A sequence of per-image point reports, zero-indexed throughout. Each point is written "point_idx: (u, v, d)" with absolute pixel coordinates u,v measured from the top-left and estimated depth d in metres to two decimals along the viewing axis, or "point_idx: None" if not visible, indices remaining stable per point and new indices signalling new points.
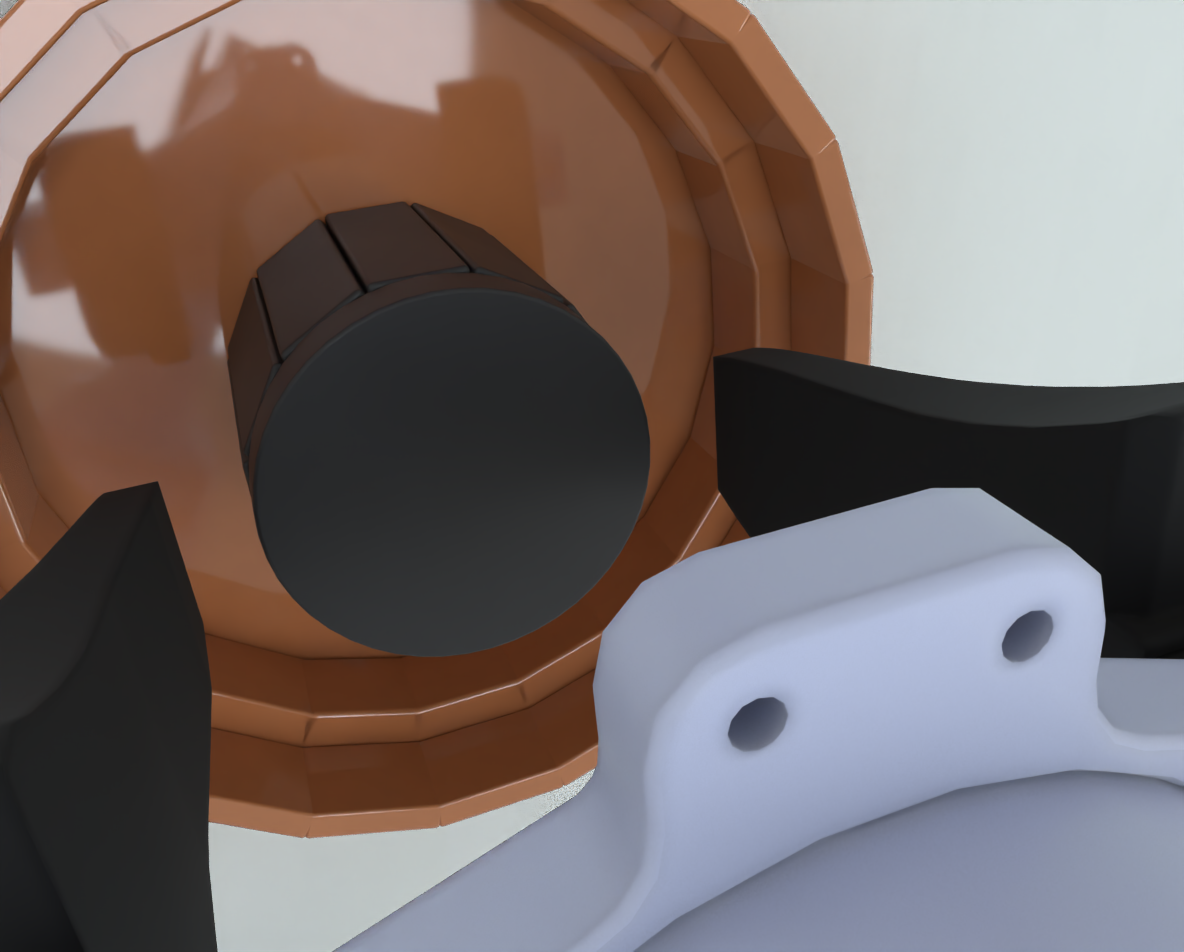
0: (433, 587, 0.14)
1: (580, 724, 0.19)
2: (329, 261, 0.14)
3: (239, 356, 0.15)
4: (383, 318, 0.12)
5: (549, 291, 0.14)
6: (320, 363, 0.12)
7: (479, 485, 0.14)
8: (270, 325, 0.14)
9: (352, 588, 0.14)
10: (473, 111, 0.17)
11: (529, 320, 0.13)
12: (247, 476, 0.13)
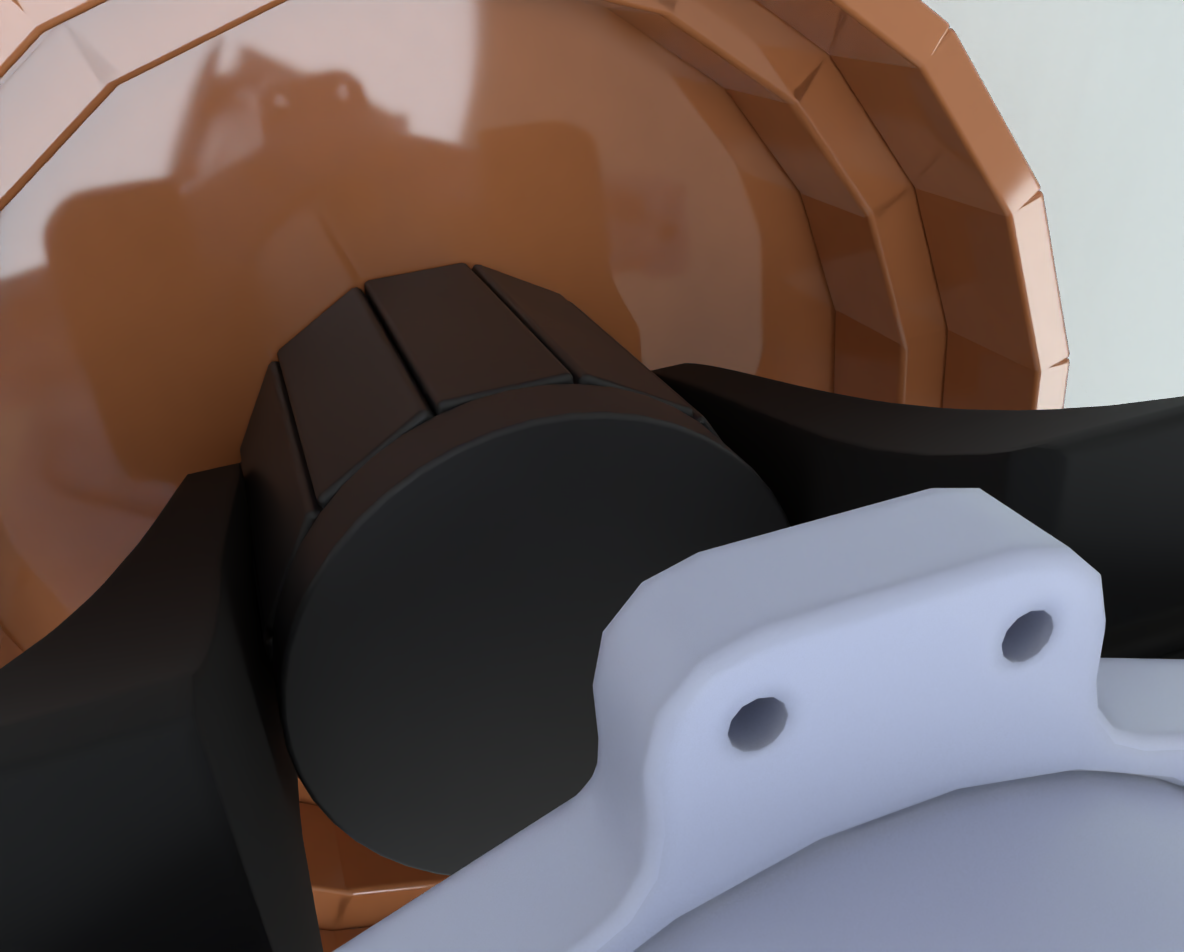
0: (517, 794, 0.11)
1: None
2: (377, 356, 0.11)
3: (256, 471, 0.12)
4: (464, 459, 0.09)
5: (675, 402, 0.10)
6: (375, 523, 0.09)
7: (582, 665, 0.10)
8: (299, 441, 0.11)
9: (411, 804, 0.10)
10: (556, 148, 0.13)
11: (659, 452, 0.09)
12: (270, 657, 0.10)
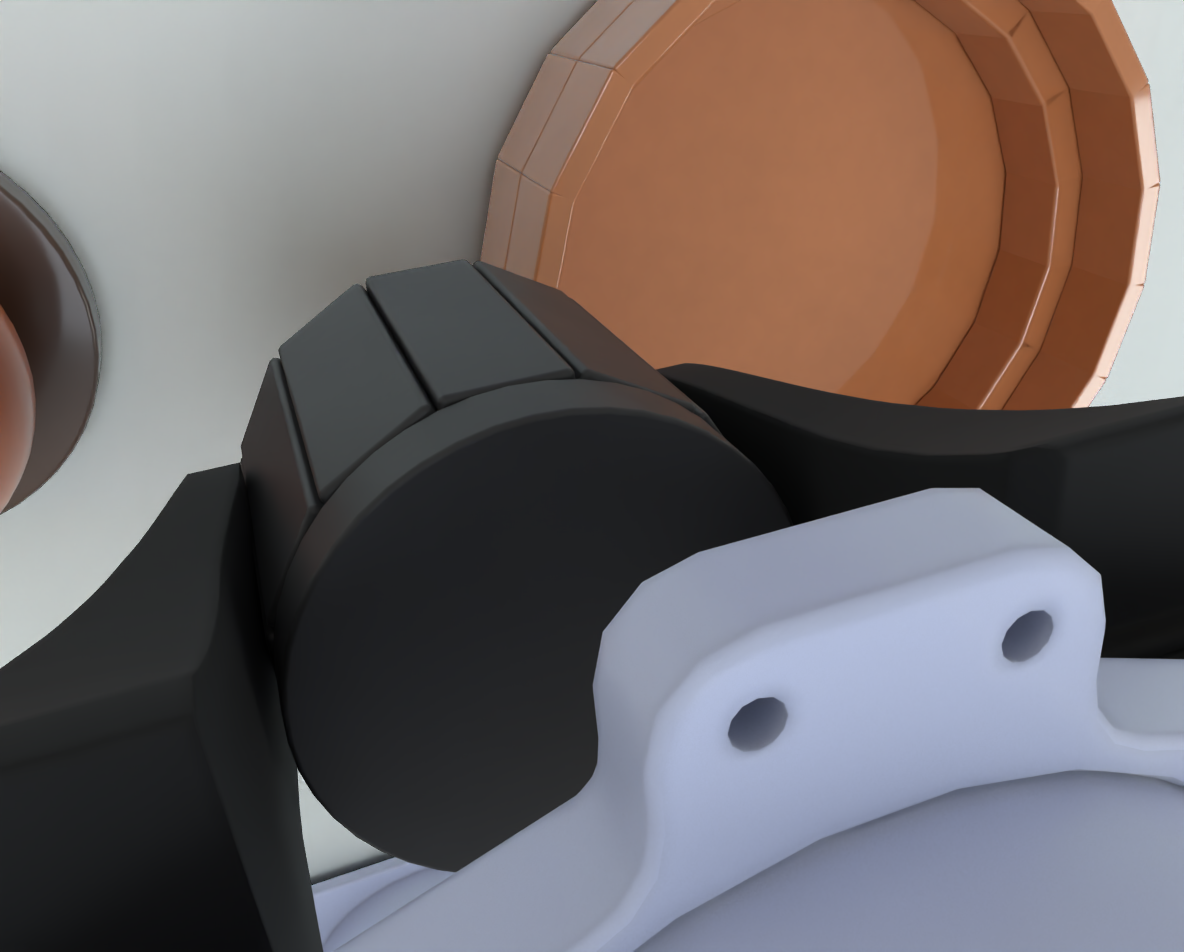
0: (518, 790, 0.11)
1: None
2: (378, 351, 0.11)
3: (257, 467, 0.12)
4: (465, 454, 0.09)
5: (677, 397, 0.10)
6: (377, 517, 0.09)
7: (584, 661, 0.10)
8: (300, 437, 0.11)
9: (412, 800, 0.10)
10: (861, 68, 0.23)
11: (661, 448, 0.09)
12: (272, 653, 0.10)
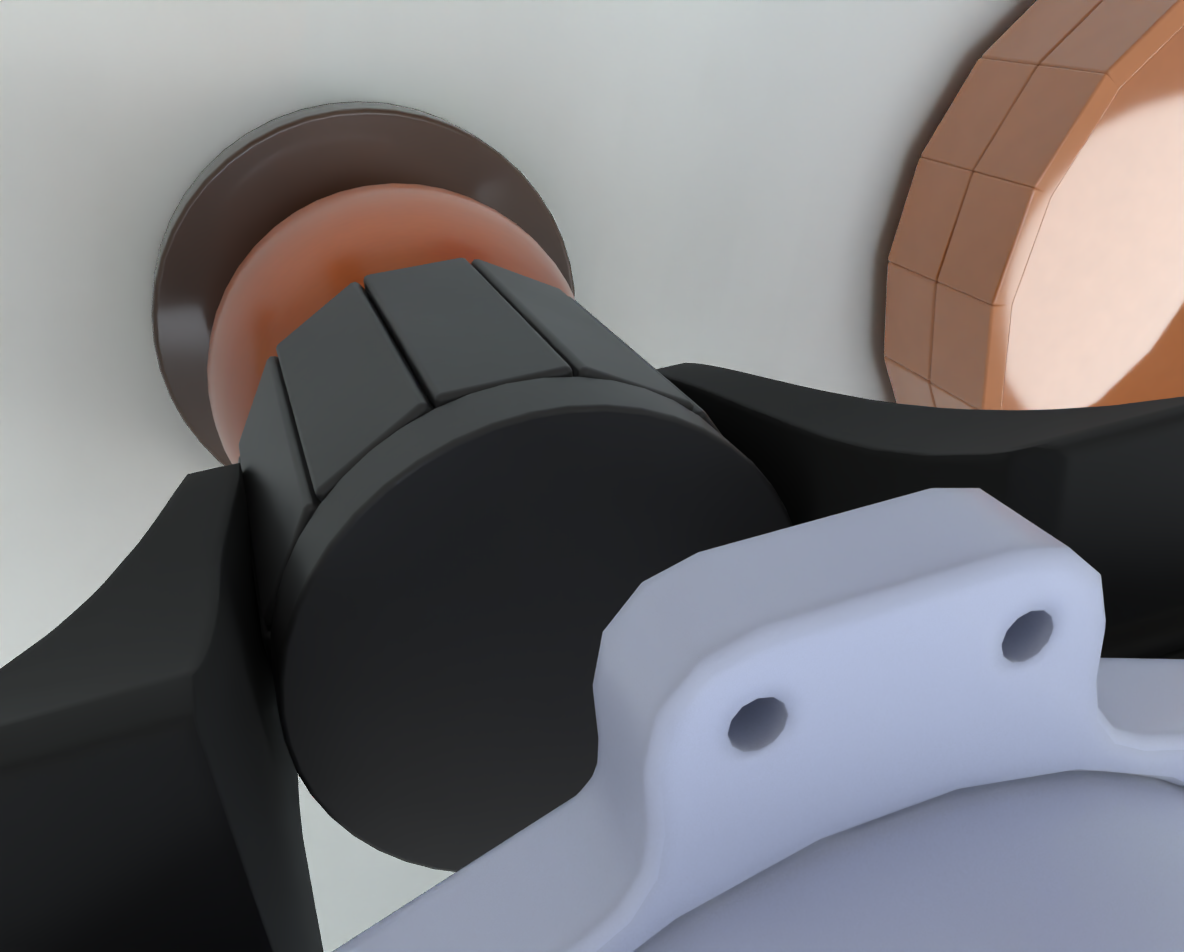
0: (516, 789, 0.10)
1: None
2: (376, 349, 0.11)
3: (255, 465, 0.12)
4: (462, 451, 0.09)
5: (675, 395, 0.10)
6: (374, 515, 0.09)
7: (582, 659, 0.10)
8: (297, 435, 0.11)
9: (410, 798, 0.10)
10: None
11: (659, 445, 0.09)
12: (268, 651, 0.10)
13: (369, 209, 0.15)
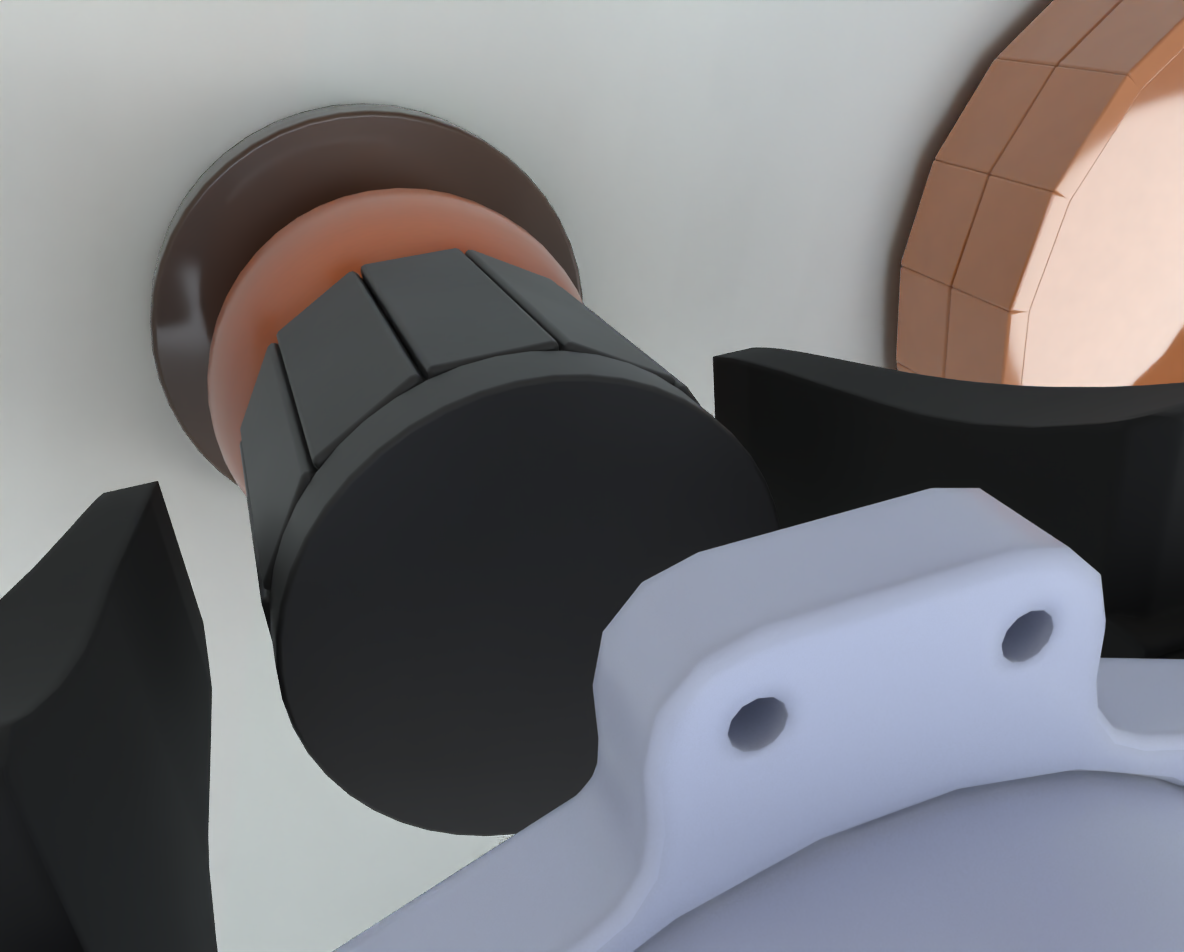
0: (506, 752, 0.11)
1: None
2: (371, 330, 0.11)
3: (255, 445, 0.12)
4: (452, 418, 0.09)
5: (657, 371, 0.11)
6: (367, 479, 0.09)
7: (569, 624, 0.10)
8: (296, 412, 0.11)
9: (403, 759, 0.10)
10: None
11: (640, 415, 0.10)
12: (267, 616, 0.10)
13: (374, 215, 0.15)
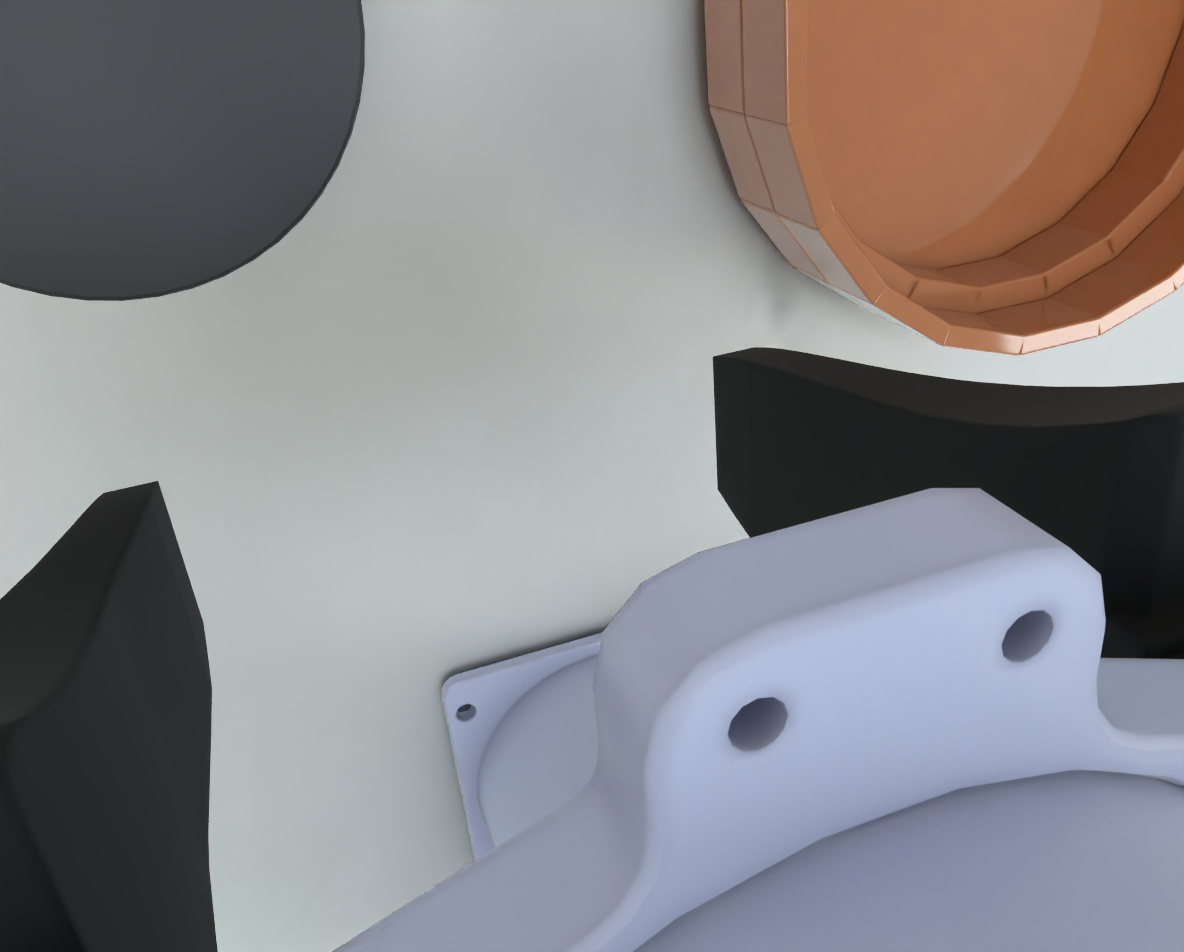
0: (54, 185, 0.10)
1: (1103, 295, 0.25)
2: None
3: None
4: None
5: None
6: None
7: (103, 26, 0.10)
8: None
9: None
10: None
11: None
12: None
13: None
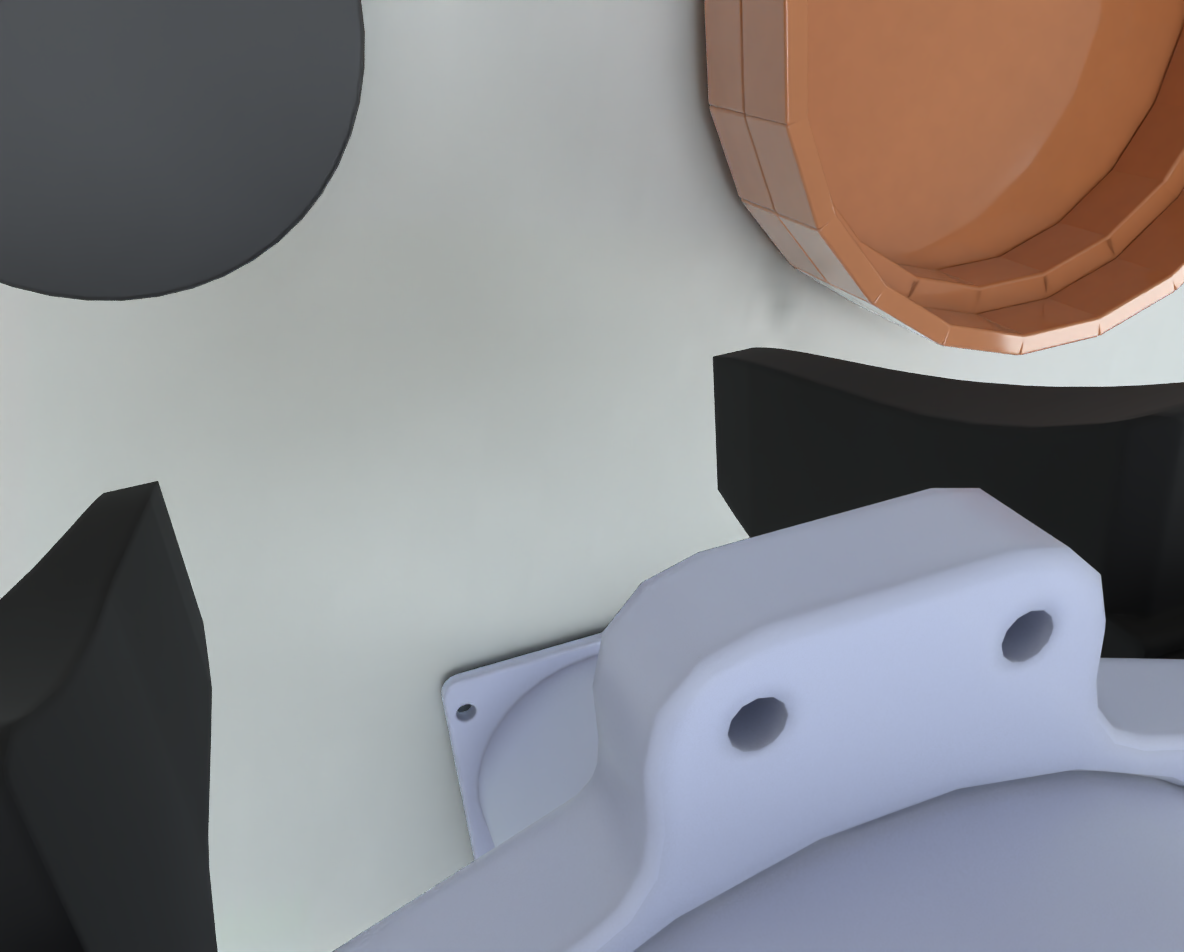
0: (54, 185, 0.10)
1: (1103, 295, 0.25)
2: None
3: None
4: None
5: None
6: None
7: (103, 26, 0.10)
8: None
9: None
10: None
11: None
12: None
13: None
